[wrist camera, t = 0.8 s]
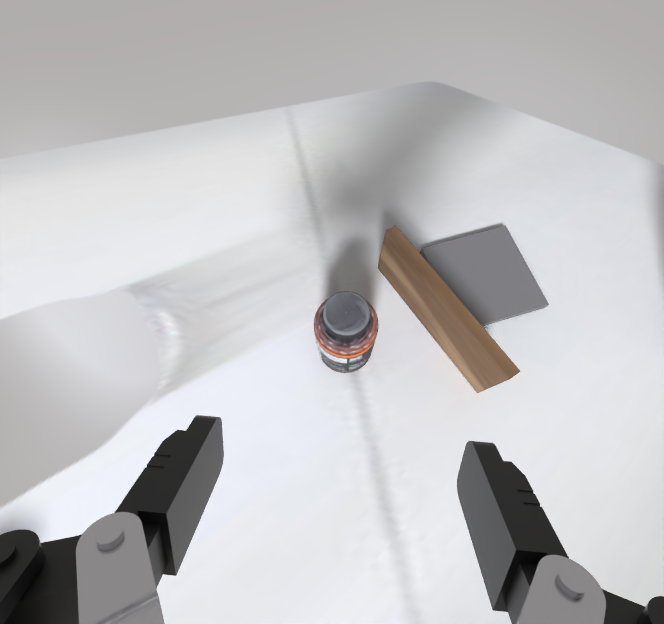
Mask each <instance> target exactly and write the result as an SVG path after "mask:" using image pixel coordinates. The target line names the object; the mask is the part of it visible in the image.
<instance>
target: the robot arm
mask: <svg viewBox="0 0 664 624" xmlns="http://www.w3.org/2000/svg"><path fill="white" fill-rule="evenodd" d="M223 456H224V451H223V435H222V421H221V418H220V417H211V416H200V415H197V416H196V417H195V418H194V419H193V421H192V422H191V424H190V426H189V427H188V429H187V430H186V431H183V430H177V431H175V432H174V433H173V434H172V435H170V436H169V437H168V438H166V439H165V440H164V441H163V442H162V444H161V445H160V447H159V448H158V449H157V451H156V452H155V454H154V457H152V458H151V460H150V461H149V463H148V464H147V467H146V468H145V469H144V470H143V472H142V473H141V475H140V476H139V478H138V479H137V481H136V482H135V484H134V485H133V486H132V488H131V489H130V491H129V492H128V494H127V495H126V497H125V498H124V500H123V501H122V503H121V504H120V506H119V507H118V509H117V510H116V511H115V513H113V514H110V515H107V516H105V517H103V518H101V519H99V520H97V521H96V522H95V523H93V524H92V525H91V526H90V527H89V528H87V530H86V531H85V532H84V533H83V534H82V535H78V536H74V537H70V538H65V539H59V540H54V541H49V542H44V543H40V540H39V538H38V536H37V534H36V533H34V532H33V531H30V530H15V531H11V532H7V533H4V534H2V535H0V624H164V619H163V615H162V610H161V606H160V601H159V597H158V594H157V590H156V588H157V586H158V583H159V581H160V579H161V577H162V575H163V574H166V575H175V576H176V575H177V572H178V570H179V568H180V565H181V563H182V561H183V558H184V556H185V554H186V551H187V549H188V547H189V544H190V542H191V540H192V537H193V535H194V533H195V530H196V528H197V526H198V523H199V521H200V519H201V516H202V514H203V512H204V509H205V507H206V505H207V502H208V500H209V498H210V495H211V493H212V491H213V488H214V486H215V484H216V481H217V479H218V477H219V474H220V471H221V468H222V464H223ZM457 490H458V496H459V500H460V503H461V507H462V510H463V513H464V517H465V520H466V523H467V526H468V530H469V533H470V536H471V540H472V543H473V546H474V550H475V553H476V556H477V559H478V563H479V566H480V569H481V573H482V576H483V579H484V583H485V586H486V589H487V593H488V596H489V599H490V602H491V606H492V609H493V610H495V611H505V612H508V613H509V616H510V619H511V622H512V624H664V597H663V596H659V597H654V598H652V599H651V600H650V601H649V603H648V604H647V606H646V607H644V606H642V605H639V604H637V603H634V602H632V601H629V600H627V599H624V598H622V597H619V596H617V595H614V594H612V593H610V592H607V591H605V590H603V589H602V588H601V587H600V585H599V584H598V582H597V581H596V580H595V578H594V577H593V576H592V575H591V574H590V573H589V572H588V571H587V570H586V569H585V568H583V567H582V566H581V565H579V564H578V563H576V562H574V561H573V560H571V559H569V557H568V556H567V554H566V552H565V550H564V548H563V546H562V544H561V543H560V541H559V539H558V537H557V535H556V533H555V531H554V529H553V527H552V526H551V524H550V522H549V520H548V518H547V516H546V514H545V512H544V510H543V509H542V507H540V503H539V501H538V499H537V497H536V495H535V494H533V490H532V488H531V486H530V484H529V482H528V480H527V478H526V477H525V475H524V474H523V473H522V472H521V471H520V470H519V469H518V468H517V467H516V466H515V465H514V464H513V463H512V462H507V461H503V460H502V458H501V456H500V454H499V452H498V450H497V448H496V446H495V445H494V444H493V443H486V442H475V441H468V442H467V444H466V447H465V451H464V455H463V458H462V462H461V466H460V470H459V474H458V479H457Z"/></svg>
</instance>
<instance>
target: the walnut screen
mask: <svg viewBox="0 0 664 624" xmlns="http://www.w3.org/2000/svg"><path fill="white" fill-rule="evenodd" d="M378 269H379V270H380V271H381V273H382V274H383V275H384V276H385V278H386V279H387V280H388V281H389V283H390V284H391V285H392V286H393V288H394V289H395V290H396V291H397V293H398V294H399V295H400V296H401V298H402V299H403V300H404V301H405V303H406V304H407V305H408V307H409V308H410V309H411V310H412V312H413V313H414V314H415V315H416V317H417V318H418V319H419V320H420V322H421V323H422V324H423V325H424V327H425V328H426V329H427V330H428V332H429V333H430V334H431V335H432V337H433V338H434V339H435V341H436V342H437V343H438V344H439V346H440V347H441V348H442V349H443V351H444V352H445V353H446V354H447V356H448V357H449V358H450V359H451V361H452V362H453V363H454V364H455V366H456V367H457V368H458V369H459V371H460V372H461V373H462V375H463V376H464V377H465V378H466V380H467V381H468V382H469V383H470V385H471V386H472V387H473V388H474V390H475V391H476V392H477V393H479V392H481V391H484V390H486V389H488V388H490V387H493V386H495V385H497V384H499V383H502V382H504V381H506V380H509V379H511V378H512V377H513V376H515V375H516V374H517V373H519V372H520V370H519V369H518V368H517V367H516V366H515V364H514V363H513V362H512V361H511V360H510V358H509V357H508V356H507V355H506V354H505V353H504V351H503V350H502V349H501V348H500V347H499V346H498V344H497V343H496V342H495V341H494V340H493V339H492V337H491V336H490V335H489V334H488V333H487V332H486V330H485V329H484V328H483V327H482V326H481V325H480V323H479V322H478V321H477V320H476V319H475V318H474V316H473V315H472V314H471V313H470V312H469V311H468V309H467V308H466V307H465V306H464V305H463V303H462V302H461V301H460V300H459V299H458V298H457V296H456V295H455V294H454V293H453V292H452V291H451V289H450V288H449V287H448V286H447V285H446V284H445V282H444V281H443V280H442V279H441V278H440V277H439V275H438V274H437V273H436V272H435V271H434V270H433V268H432V267H431V266H430V265H429V264H428V263H427V261H426V260H425V259H424V258H423V257H422V256H421V254H420V253H419V252H418V251H417V250H416V248H415V247H414V246H413V245H412V244H411V243H410V241H409V240H408V239H407V238H406V237H405V236H404V234H403V233H402V232H401V231H400V230H399V229H398V227H397V226H396V225H395V226H393V227H392V228H390V229H388V230H387V231H386V234H385V238H384V243H383V247H382V252H381V256H380V261H379V265H378Z"/></svg>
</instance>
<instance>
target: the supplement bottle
mask: <svg viewBox="0 0 664 624" xmlns="http://www.w3.org/2000/svg"><path fill="white" fill-rule="evenodd" d="M314 331H315V337H316V343H317V346H318V350H319V354H320V356H321V358H322V360H323V362H324V363H325V364H326V365H327V366H328V367H329V368H331V369H332V370H334V371H337V372H341V373H349V372H353V371H356V370H358V369H360V368H361V367H363V366H364V365H365V364H366V362H367V361H368V359H369V358H370V355H371V352H372V349H373V346H374V342H375V339H376V335H377V332H378V318H377V315H376V312H375V310H374V309H373V307H372V306H371V304H369V303H368V302H367V301H366V300H365V299H364V298H363V297H362V296H360V295H358V294H356V293H354V292H349V291H344V292H339V293H336V294H334V295H333V296H331V297H330V298H329V299H327V300H326V301H325V302H324V303H322V305H321V306H320V307H319V309H318V310H317V312H316V315H315V318H314Z"/></svg>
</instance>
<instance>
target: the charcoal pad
mask: <svg viewBox="0 0 664 624" xmlns="http://www.w3.org/2000/svg"><path fill="white" fill-rule="evenodd" d="M420 253H421V255H422V257H423V258H424V259H425V260H426V261H427V263H428V264H429V265H430V266H431V267H432V268H433V270H434V271H435V272H436V273H437V274H438V275H439V277H440V278H441V279H442V280H443V281H444V282H445V284H446V285H447V286H448V287H449V288H450V289H451V291H452V292H453V293H454V294H455V295H456V296H457V298H458V299H459V300H460V301H461V302H462V303H463V305H464V306H465V307H466V308H467V309H468V311H469V312H470V313H471V314H472V315H473V316H474V318H475V319H476V320H477V321H478V322H479V323H480V325H481V326H484V325H488V324H491V323H494V322H498V321H501V320H505V319H508V318H511V317H515V316H518V315H522V314H525V313H528V312H532V311H535V310H539V309H542V308H545V307H546V306H548V305H549V304H548V302H547V300H546V298H545V297H544V295H543V293H542V291H541V289H540V288H539V286H538V284H537V282H536V280H535V278H534V277H533V275H532V273H531V271H530V269H529V267H528V266H527V264H526V262H525V260H524V258H523V256H522V255H521V253H520V251H519V249H518V247H517V245H516V244H515V242H514V240H513V238H512V236H511V235H510V233H509V231H508V229H507V227H506V226H502V227H498V228H494V229H491V230H487V231H483V232H480V233H476V234H472V235H468V236H465V237H461V238H457V239H454V240H450V241H446V242H442V243H439V244H435V245H431V246H427V247H424V248H422V249H421V252H420Z"/></svg>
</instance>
